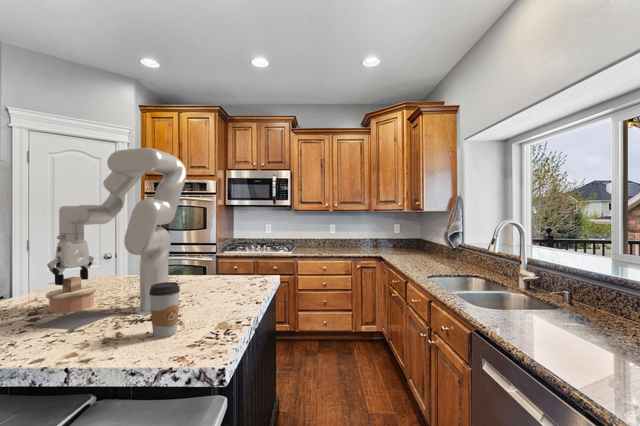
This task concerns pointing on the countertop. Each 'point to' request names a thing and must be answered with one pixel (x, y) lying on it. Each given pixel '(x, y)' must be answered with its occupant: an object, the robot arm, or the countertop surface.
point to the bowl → (71, 304)
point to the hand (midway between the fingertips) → (72, 282)
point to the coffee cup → (164, 308)
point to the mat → (74, 320)
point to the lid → (71, 289)
